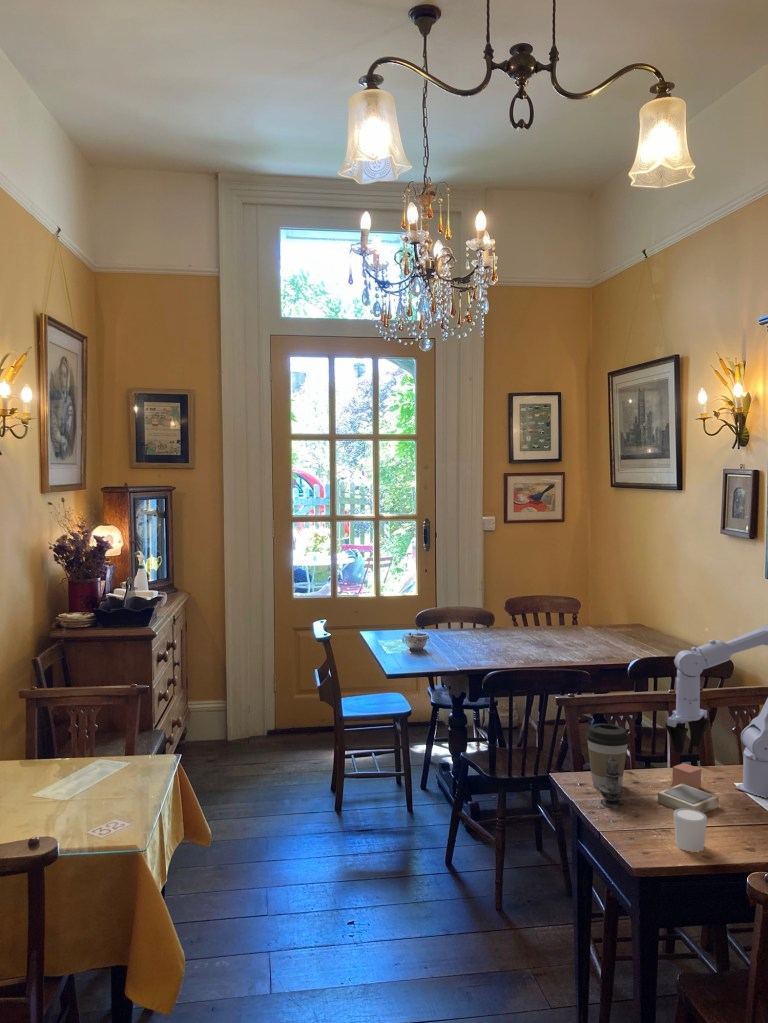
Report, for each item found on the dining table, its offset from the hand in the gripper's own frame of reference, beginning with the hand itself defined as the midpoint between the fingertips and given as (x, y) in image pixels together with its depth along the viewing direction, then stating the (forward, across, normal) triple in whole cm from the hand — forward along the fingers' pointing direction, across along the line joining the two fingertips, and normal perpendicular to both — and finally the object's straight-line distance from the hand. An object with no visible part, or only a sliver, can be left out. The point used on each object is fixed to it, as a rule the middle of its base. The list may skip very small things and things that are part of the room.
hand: (687, 749), depth 194 cm
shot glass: (+10, +29, +20) cm, 37 cm away
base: (+10, +10, +7) cm, 16 cm away
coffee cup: (+10, +17, -12) cm, 23 cm away
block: (+10, 0, 0) cm, 10 cm away
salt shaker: (+10, +25, -4) cm, 27 cm away
